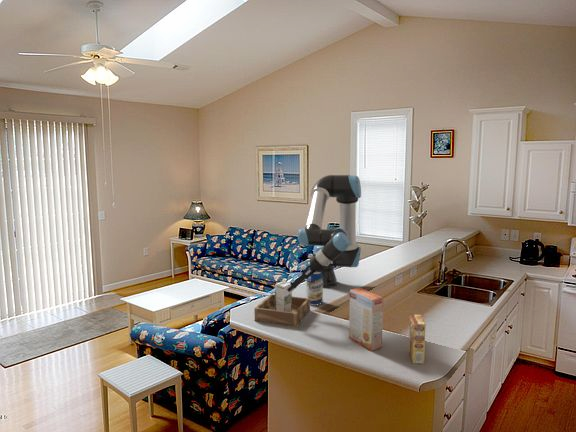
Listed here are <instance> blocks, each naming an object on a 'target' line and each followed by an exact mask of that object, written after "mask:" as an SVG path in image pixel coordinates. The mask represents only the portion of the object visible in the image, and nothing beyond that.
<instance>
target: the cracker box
mask: <svg viewBox="0 0 576 432" xmlns="http://www.w3.org/2000/svg"><path fill="white" fill-rule="evenodd" d="M348 319H349V321H348V325H349V326H348V329H349V330H348V338H349V339H351V340H352V341H354V342H355V343H358V344H359V345H361V346H362V347H364V348H366V349H367V350H369V351H371V352H372V351H376V350H378V349H382V348H383V326H384V325H383V321H384V297H383V296H381V295H379V294H377V293H374V292H372V291H369V290H367V289H365V288H362V287H357V288H352V289H350V290H349V317H348Z"/></svg>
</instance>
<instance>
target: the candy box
mask: <svg viewBox="0 0 576 432" xmlns="http://www.w3.org/2000/svg"><path fill="white" fill-rule="evenodd" d="M408 341H409V346H408V349H409V350H408V352H409V355H410V358H411V362H412V364H422V365H423V364H425V351H426V349H425V346H426V345H425V343H426V323H425V321H424V319H423V316H422V315H421V314H410V315H409V339H408Z"/></svg>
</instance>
